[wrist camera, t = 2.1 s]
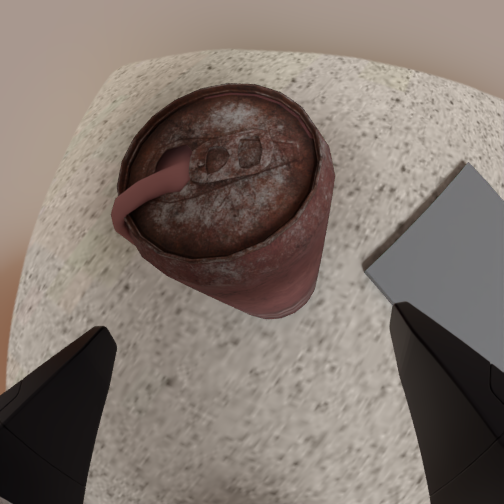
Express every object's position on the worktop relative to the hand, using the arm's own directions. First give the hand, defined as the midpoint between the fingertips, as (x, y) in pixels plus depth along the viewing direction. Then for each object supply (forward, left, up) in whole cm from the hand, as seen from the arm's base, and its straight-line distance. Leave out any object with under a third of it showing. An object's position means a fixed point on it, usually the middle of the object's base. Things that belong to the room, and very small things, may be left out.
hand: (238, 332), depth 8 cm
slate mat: (-9, -14, -11) cm, 20 cm away
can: (+3, -2, -11) cm, 12 cm away
